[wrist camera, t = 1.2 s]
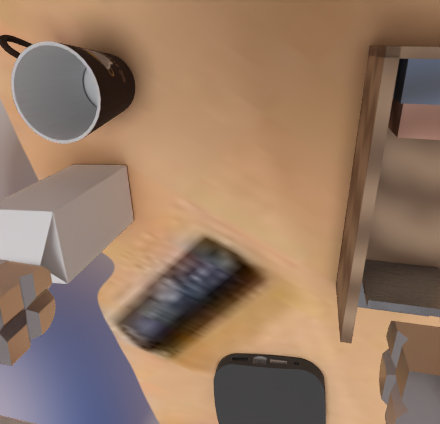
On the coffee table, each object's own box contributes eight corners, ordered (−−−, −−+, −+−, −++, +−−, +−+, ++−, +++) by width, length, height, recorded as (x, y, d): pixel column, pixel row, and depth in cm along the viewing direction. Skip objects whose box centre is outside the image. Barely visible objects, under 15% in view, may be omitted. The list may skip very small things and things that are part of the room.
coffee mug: (159, 102, 44) (118, 117, 35) (98, 136, 47) (47, 158, 38) (102, -3, 42) (42, -16, 32) (42, 41, 45) (-28, 39, 35)
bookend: (360, 258, 45) (368, 300, 38) (438, 267, 43) (463, 312, 36) (352, 303, 47) (359, 350, 40) (427, 313, 45) (448, 363, 38)
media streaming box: (224, 428, 61) (220, 446, 58) (214, 349, 56) (209, 364, 53) (325, 440, 58) (325, 459, 55) (324, 357, 52) (325, 374, 50)
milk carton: (73, 163, 49) (-57, 227, 32) (127, 164, 48) (21, 231, 31) (83, 218, 52) (-33, 303, 35) (134, 220, 50) (41, 310, 33)
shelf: (369, 45, 38) (386, 46, 29) (501, 47, 36) (563, 48, 27) (335, 285, 48) (340, 341, 39) (437, 298, 46) (467, 360, 37)
